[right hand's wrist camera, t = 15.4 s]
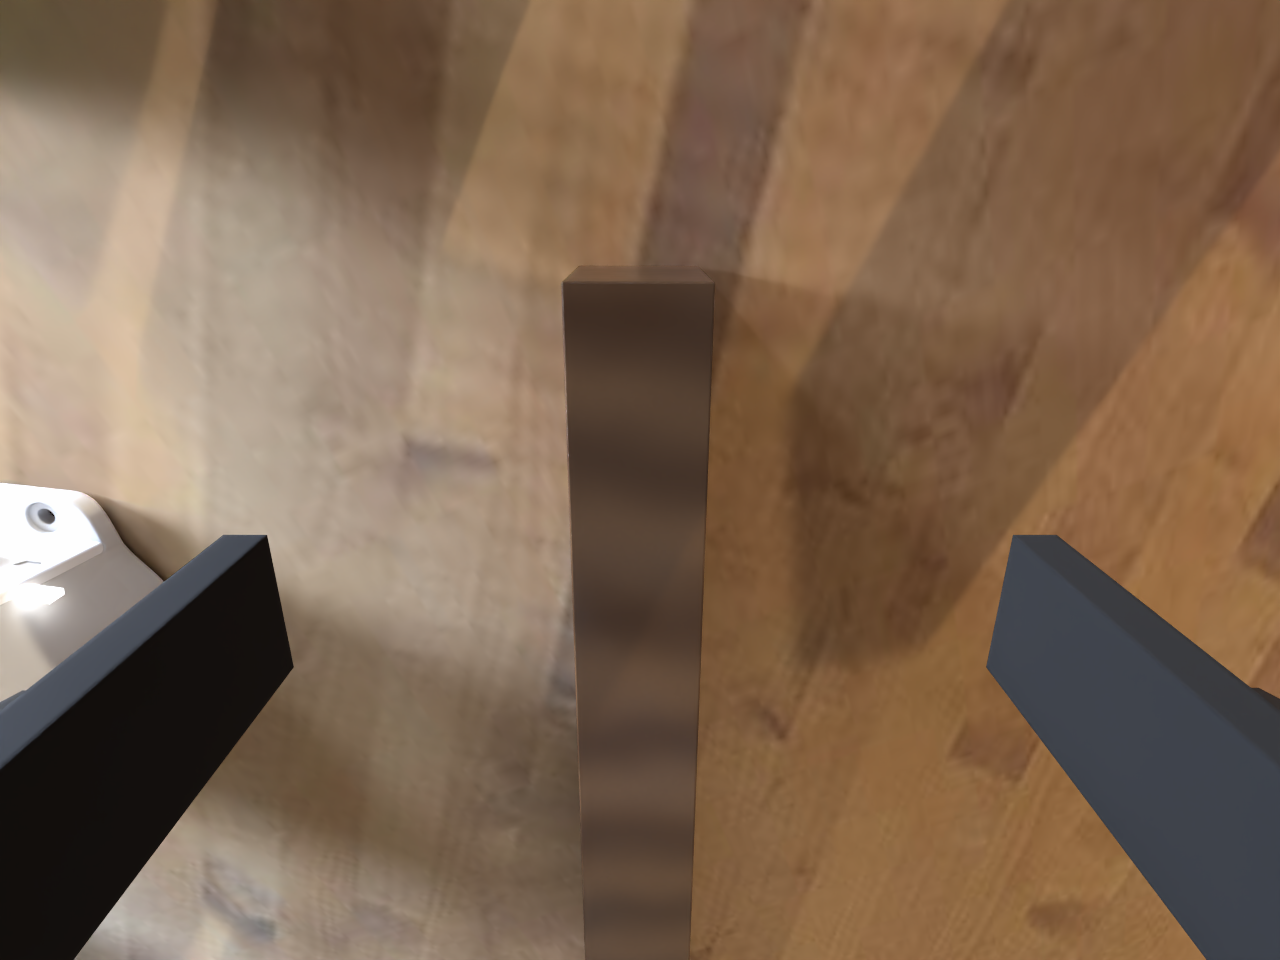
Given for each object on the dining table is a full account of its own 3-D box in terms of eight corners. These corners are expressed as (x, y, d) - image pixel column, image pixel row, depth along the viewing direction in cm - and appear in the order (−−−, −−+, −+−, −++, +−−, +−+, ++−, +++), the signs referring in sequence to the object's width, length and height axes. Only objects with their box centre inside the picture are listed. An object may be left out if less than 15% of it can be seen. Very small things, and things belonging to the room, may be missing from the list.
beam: (578, 265, 33) (561, 281, 26) (698, 266, 33) (715, 281, 26) (598, 1018, 52) (591, 1150, 44) (676, 1018, 52) (682, 1150, 44)
